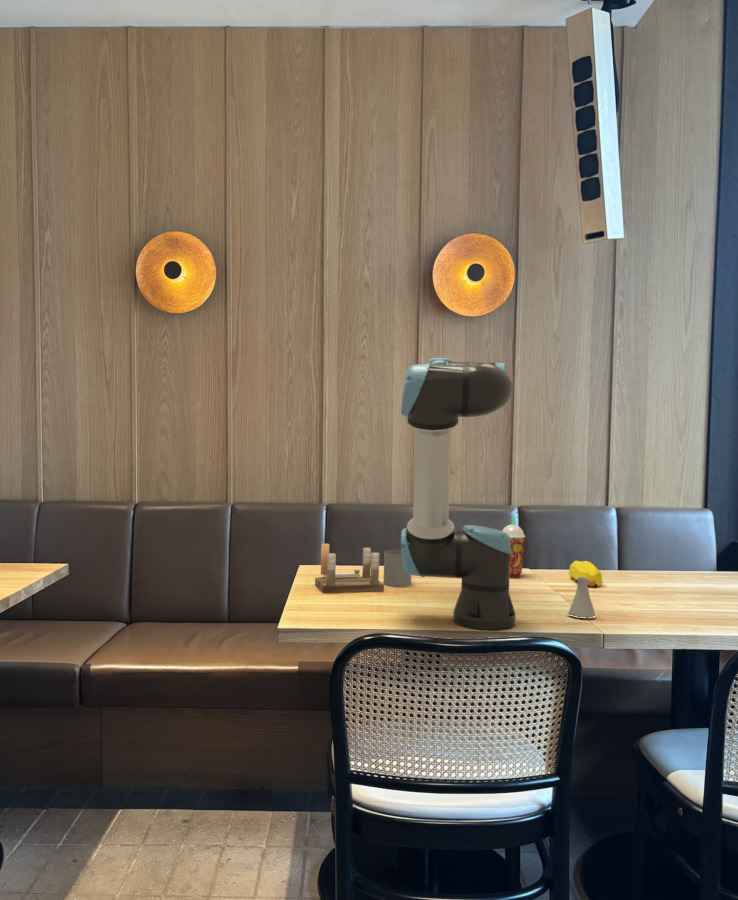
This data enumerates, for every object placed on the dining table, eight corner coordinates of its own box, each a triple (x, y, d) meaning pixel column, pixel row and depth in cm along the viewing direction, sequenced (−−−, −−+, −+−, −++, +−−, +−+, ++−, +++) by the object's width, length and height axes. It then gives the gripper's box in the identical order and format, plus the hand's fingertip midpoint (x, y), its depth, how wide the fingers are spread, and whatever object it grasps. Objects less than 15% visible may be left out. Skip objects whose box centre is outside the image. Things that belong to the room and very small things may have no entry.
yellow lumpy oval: (580, 588, 215) (605, 589, 215) (580, 567, 215) (605, 568, 215) (566, 577, 233) (589, 577, 233) (566, 557, 233) (590, 558, 233)
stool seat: (383, 591, 202) (384, 553, 201) (323, 593, 197) (324, 554, 197) (372, 582, 213) (373, 547, 213) (314, 584, 209) (315, 547, 208)
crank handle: (360, 577, 209) (361, 544, 209) (321, 578, 206) (322, 544, 206) (357, 575, 211) (358, 543, 211) (319, 576, 208) (320, 543, 208)
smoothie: (493, 574, 233) (495, 514, 232) (515, 573, 235) (517, 514, 235) (505, 579, 225) (508, 517, 225) (528, 578, 227) (530, 517, 227)
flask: (573, 611, 184) (575, 574, 184) (600, 616, 180) (601, 578, 180) (562, 616, 179) (563, 578, 179) (589, 622, 174) (591, 582, 174)
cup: (411, 582, 216) (412, 550, 216) (410, 588, 208) (411, 554, 207) (384, 581, 217) (385, 549, 216) (382, 586, 208) (383, 553, 208)
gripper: (432, 412, 211) (429, 489, 211) (420, 410, 199) (418, 492, 199) (456, 412, 209) (453, 490, 209) (446, 410, 196) (443, 493, 197)
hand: (436, 491), depth 204 cm, fingers closed
